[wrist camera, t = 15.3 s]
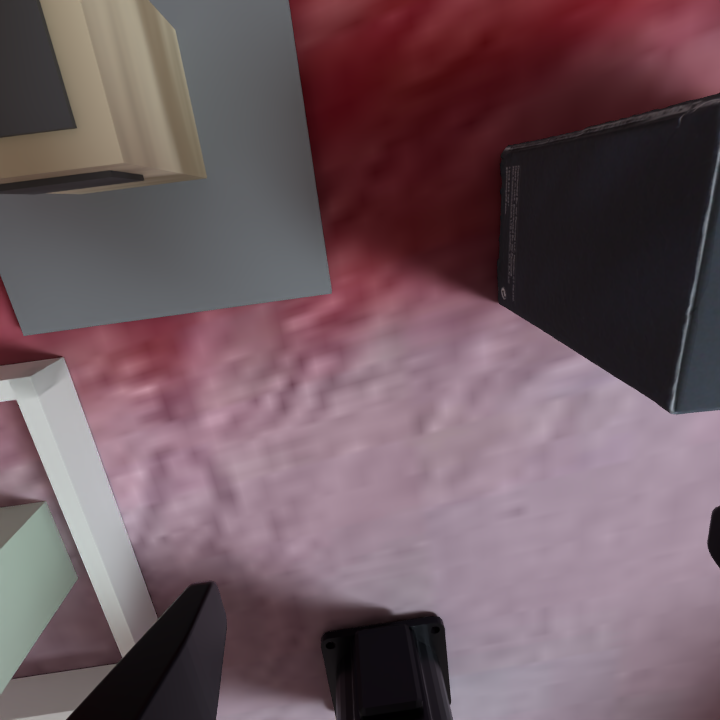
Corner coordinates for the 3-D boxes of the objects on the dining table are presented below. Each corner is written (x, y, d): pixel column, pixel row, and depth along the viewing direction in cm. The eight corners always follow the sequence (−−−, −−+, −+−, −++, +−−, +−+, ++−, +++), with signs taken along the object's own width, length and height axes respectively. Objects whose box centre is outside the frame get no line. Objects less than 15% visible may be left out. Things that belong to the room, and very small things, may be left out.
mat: (331, 290, 19) (331, 293, 18) (33, 331, 18) (23, 335, 18) (264, -166, 14) (260, -182, 13) (-136, -118, 14) (-156, -131, 13)
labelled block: (175, 29, 15) (46, -112, 8) (208, 182, 16) (123, 170, 10) (35, 46, 15) (-211, -82, 8) (81, 198, 16) (-93, 197, 10)
